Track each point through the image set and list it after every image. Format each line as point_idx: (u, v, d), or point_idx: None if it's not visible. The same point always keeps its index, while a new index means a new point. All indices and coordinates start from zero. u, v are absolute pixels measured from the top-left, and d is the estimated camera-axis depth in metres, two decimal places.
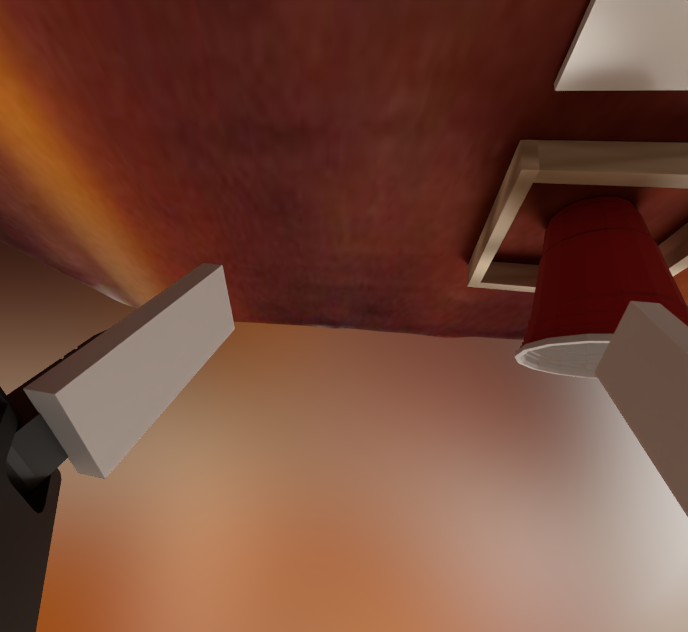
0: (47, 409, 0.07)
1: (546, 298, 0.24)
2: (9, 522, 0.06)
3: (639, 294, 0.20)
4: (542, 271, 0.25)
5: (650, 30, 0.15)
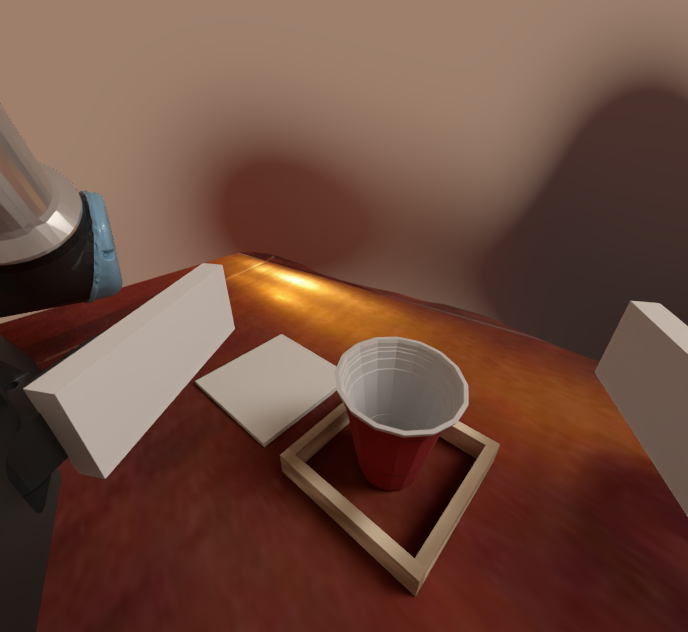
0: (47, 409, 0.07)
1: (355, 429, 0.28)
2: (9, 522, 0.06)
3: None
4: (365, 455, 0.29)
5: (269, 414, 0.38)
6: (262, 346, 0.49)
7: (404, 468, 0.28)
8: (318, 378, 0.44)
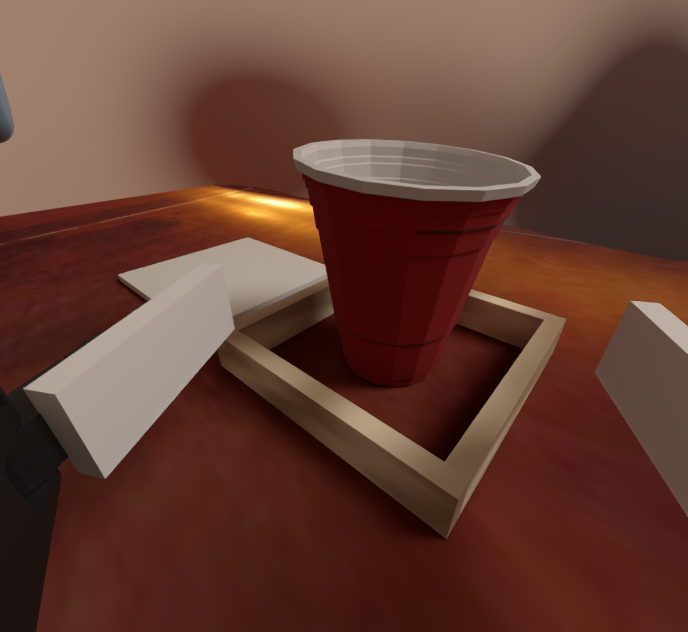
0: (47, 409, 0.07)
1: (331, 252, 0.16)
2: (9, 522, 0.06)
3: None
4: (350, 309, 0.17)
5: None
6: (220, 246, 0.37)
7: (418, 325, 0.16)
8: (291, 271, 0.31)
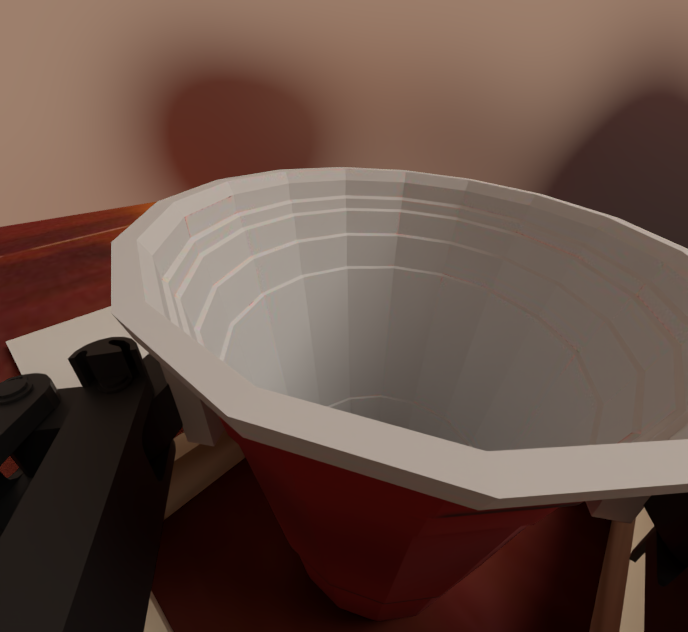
0: (177, 379, 0.08)
1: None
2: (140, 488, 0.06)
3: None
4: (289, 530, 0.08)
5: None
6: None
7: (430, 586, 0.07)
8: None
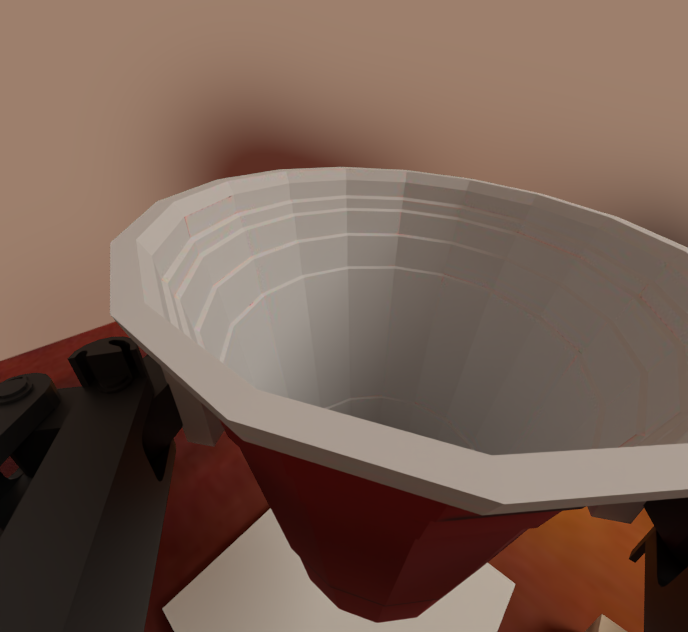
0: None
1: None
2: (140, 488, 0.06)
3: None
4: (289, 532, 0.08)
5: None
6: None
7: (432, 588, 0.07)
8: (444, 596, 0.19)
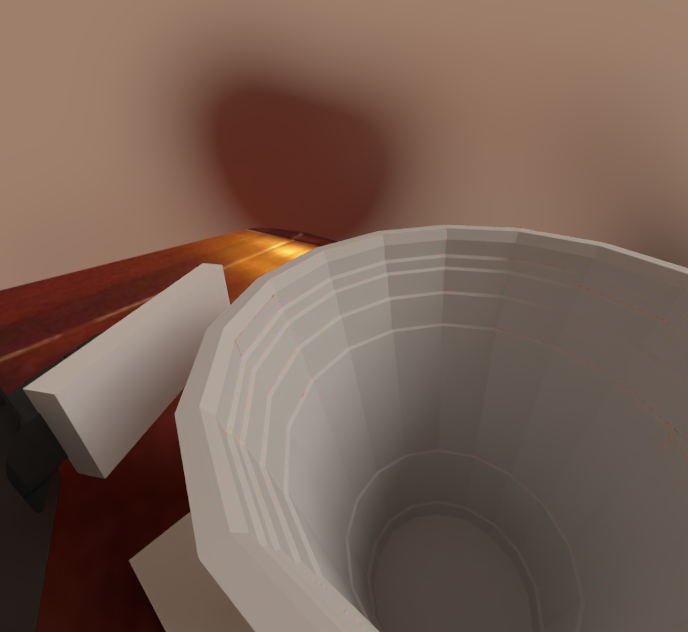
0: (47, 409, 0.07)
1: None
2: (9, 522, 0.06)
3: None
4: None
5: None
6: None
7: None
8: None
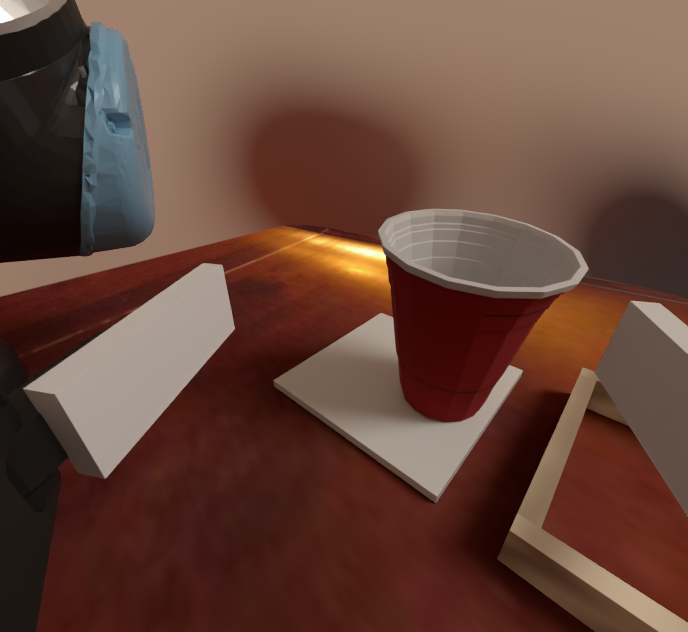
0: (47, 409, 0.07)
1: (406, 316, 0.19)
2: (9, 522, 0.06)
3: None
4: (417, 360, 0.20)
5: (420, 437, 0.22)
6: (360, 329, 0.33)
7: (475, 377, 0.19)
8: None
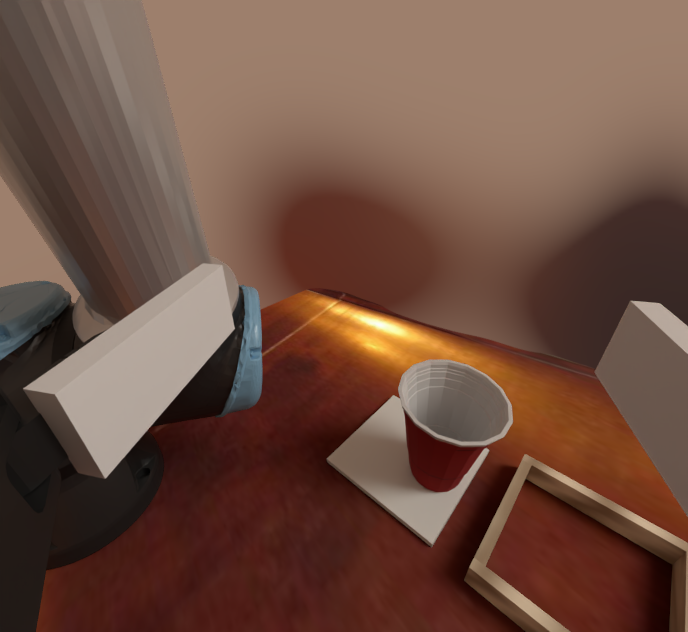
0: (47, 409, 0.07)
1: (414, 438, 0.33)
2: (9, 522, 0.06)
3: None
4: (420, 460, 0.34)
5: (422, 504, 0.36)
6: (379, 411, 0.47)
7: (454, 473, 0.34)
8: None
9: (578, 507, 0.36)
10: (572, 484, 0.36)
